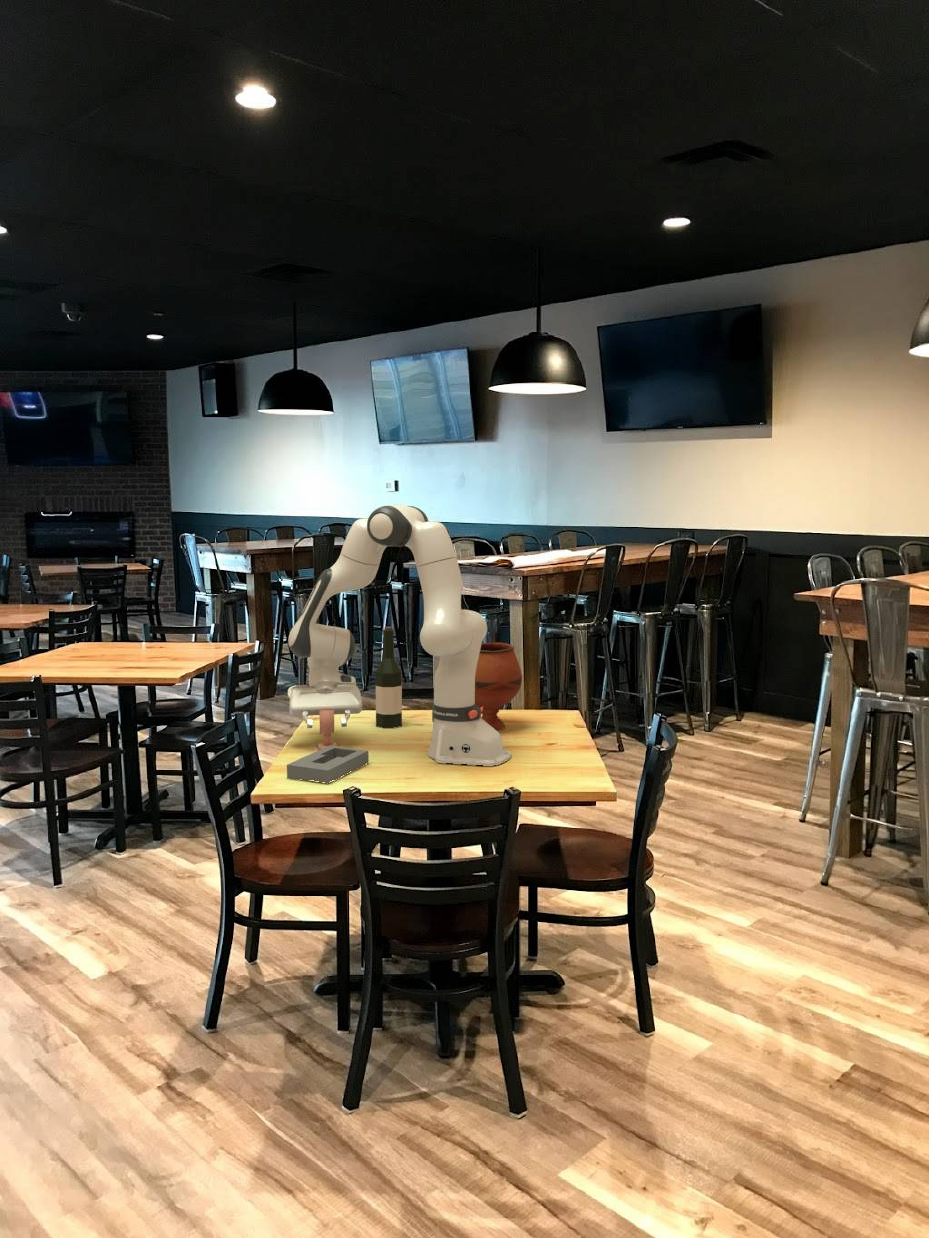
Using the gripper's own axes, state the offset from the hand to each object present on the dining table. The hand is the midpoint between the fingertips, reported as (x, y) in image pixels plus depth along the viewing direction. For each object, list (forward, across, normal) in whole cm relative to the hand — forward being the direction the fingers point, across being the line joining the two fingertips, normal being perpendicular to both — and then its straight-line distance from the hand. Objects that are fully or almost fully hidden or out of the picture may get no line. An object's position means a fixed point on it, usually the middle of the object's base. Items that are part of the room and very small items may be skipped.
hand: (327, 726), depth 277 cm
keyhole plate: (+19, -1, -9) cm, 21 cm away
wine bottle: (-13, +20, +23) cm, 33 cm away
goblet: (-7, +50, +17) cm, 53 cm away
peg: (+4, 0, +5) cm, 7 cm away
